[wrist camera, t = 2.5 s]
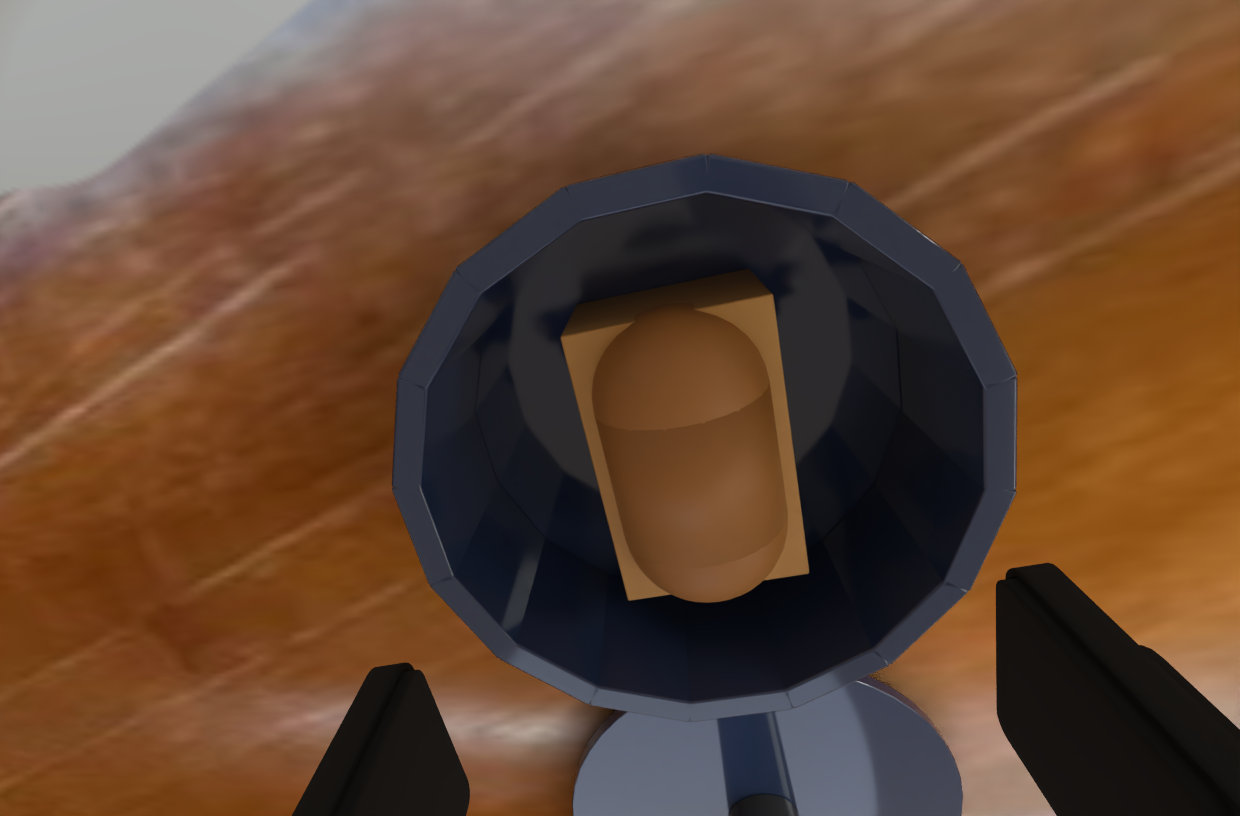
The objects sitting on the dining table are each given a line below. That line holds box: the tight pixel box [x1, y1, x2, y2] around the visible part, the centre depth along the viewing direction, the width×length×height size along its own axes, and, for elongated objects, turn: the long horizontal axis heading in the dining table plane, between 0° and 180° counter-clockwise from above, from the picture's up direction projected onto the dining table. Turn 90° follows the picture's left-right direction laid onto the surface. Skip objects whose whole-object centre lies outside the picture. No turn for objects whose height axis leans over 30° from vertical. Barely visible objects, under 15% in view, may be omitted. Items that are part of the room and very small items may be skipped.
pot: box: [392, 154, 1017, 722], centre depth 19 cm, size 16×16×6 cm
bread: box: [560, 269, 809, 603], centre depth 18 cm, size 9×6×6 cm, turn 12°
